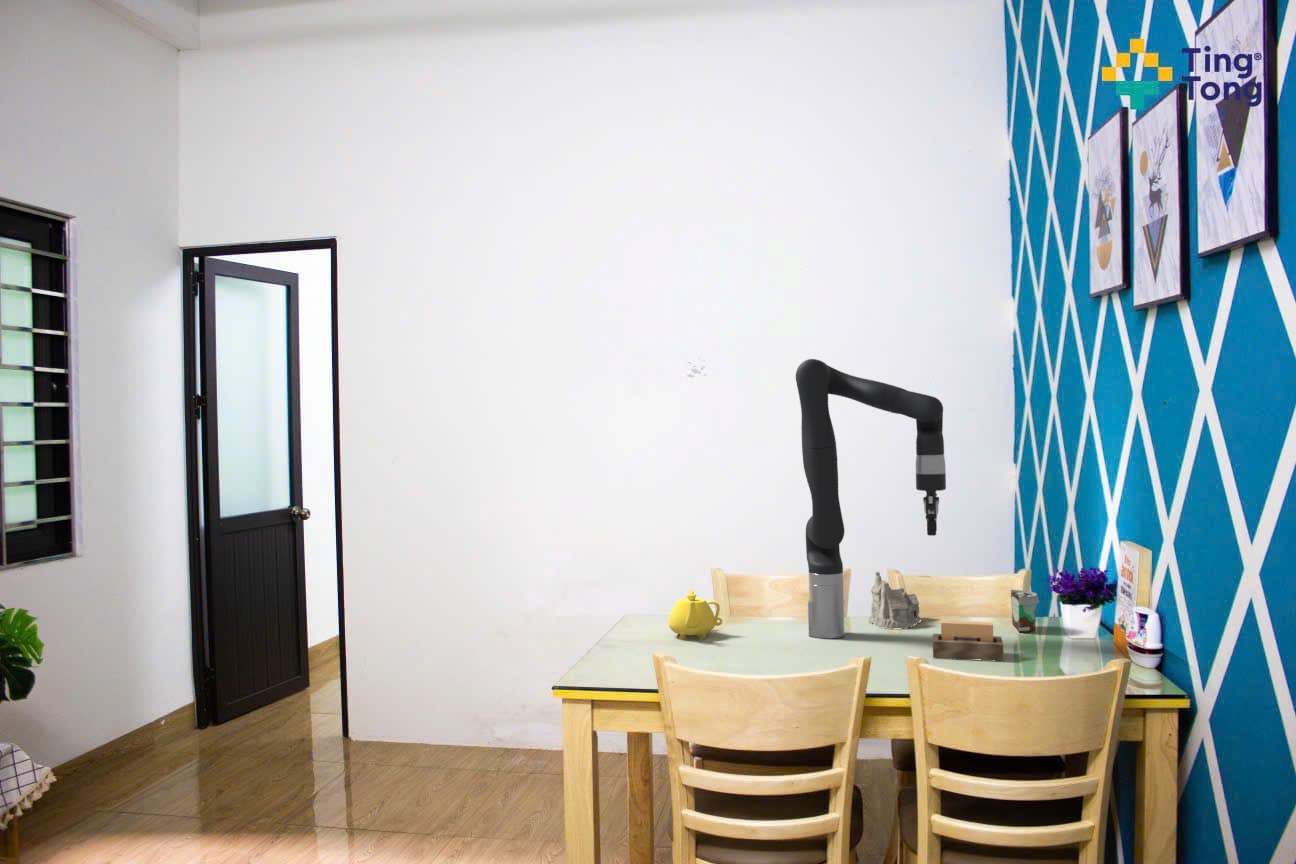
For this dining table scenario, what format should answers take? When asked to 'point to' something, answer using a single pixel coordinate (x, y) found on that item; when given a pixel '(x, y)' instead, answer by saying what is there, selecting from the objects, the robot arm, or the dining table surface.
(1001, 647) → the brown slotted wooden block
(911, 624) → the ceramic cottage
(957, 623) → the tan u-shaped block
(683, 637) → the teapot
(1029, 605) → the food container
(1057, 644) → the dining table surface
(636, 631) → the dining table surface
